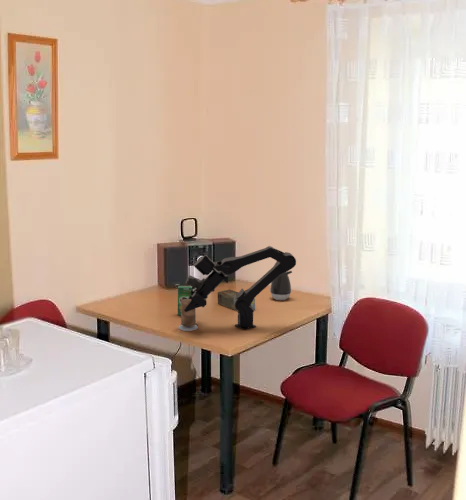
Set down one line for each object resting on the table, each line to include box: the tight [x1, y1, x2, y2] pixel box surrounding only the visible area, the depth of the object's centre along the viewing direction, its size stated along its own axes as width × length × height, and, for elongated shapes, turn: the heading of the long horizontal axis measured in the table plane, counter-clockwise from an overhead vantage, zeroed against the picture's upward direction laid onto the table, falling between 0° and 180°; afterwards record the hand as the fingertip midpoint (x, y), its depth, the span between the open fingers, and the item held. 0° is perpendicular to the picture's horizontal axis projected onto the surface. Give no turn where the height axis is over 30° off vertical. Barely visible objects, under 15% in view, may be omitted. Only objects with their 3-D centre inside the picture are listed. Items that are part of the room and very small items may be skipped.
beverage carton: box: [217, 289, 256, 312], centre depth 290 cm, size 8×19×7 cm, turn 38°
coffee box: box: [177, 285, 194, 316], centre depth 277 cm, size 8×3×13 cm, turn 93°
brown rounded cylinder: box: [180, 299, 197, 326], centre depth 259 cm, size 6×6×10 cm
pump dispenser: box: [269, 270, 293, 301], centre depth 303 cm, size 10×10×15 cm
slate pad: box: [178, 324, 199, 332], centre depth 261 cm, size 8×8×1 cm
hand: (184, 308), depth 259 cm, fingers closed on brown rounded cylinder, 6 cm apart
